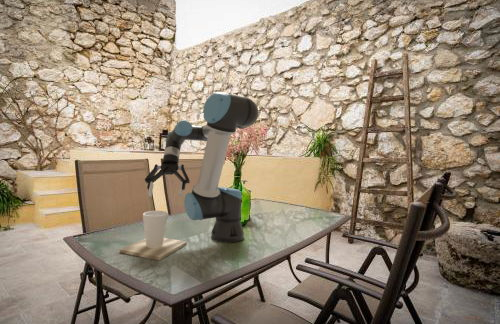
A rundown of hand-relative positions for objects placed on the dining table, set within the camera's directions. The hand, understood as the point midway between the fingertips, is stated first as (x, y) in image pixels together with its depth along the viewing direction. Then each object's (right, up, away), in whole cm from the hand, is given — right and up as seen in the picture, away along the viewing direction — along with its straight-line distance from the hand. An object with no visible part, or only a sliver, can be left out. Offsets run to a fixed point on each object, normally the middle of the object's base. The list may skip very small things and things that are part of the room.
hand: (165, 195), depth 121 cm
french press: (+34, -19, +39) cm, 55 cm away
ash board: (0, -20, -13) cm, 23 cm away
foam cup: (0, -19, -13) cm, 23 cm away
